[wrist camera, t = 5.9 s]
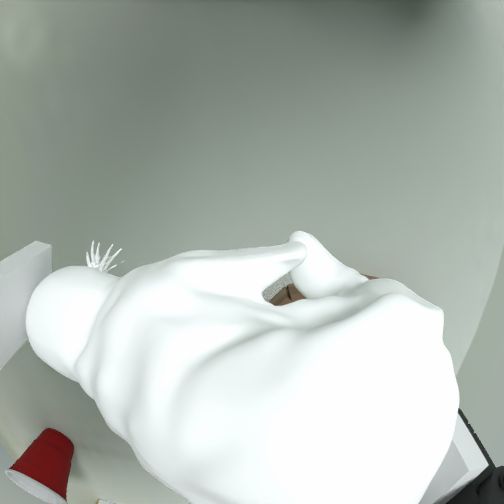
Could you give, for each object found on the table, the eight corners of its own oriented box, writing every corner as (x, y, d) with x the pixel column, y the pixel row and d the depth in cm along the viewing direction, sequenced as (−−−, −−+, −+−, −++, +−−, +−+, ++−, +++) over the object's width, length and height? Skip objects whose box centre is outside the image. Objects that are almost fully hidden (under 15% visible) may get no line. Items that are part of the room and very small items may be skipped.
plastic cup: (57, 455, 40) (35, 503, 29) (22, 416, 36) (-8, 464, 25) (100, 461, 39) (80, 516, 28) (63, 419, 36) (33, 478, 24)
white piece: (392, 557, 4) (-10, 467, 5) (356, 375, 13) (94, 337, 13) (552, 400, 2) (-104, 287, 3) (395, 235, 10) (80, 202, 11)
